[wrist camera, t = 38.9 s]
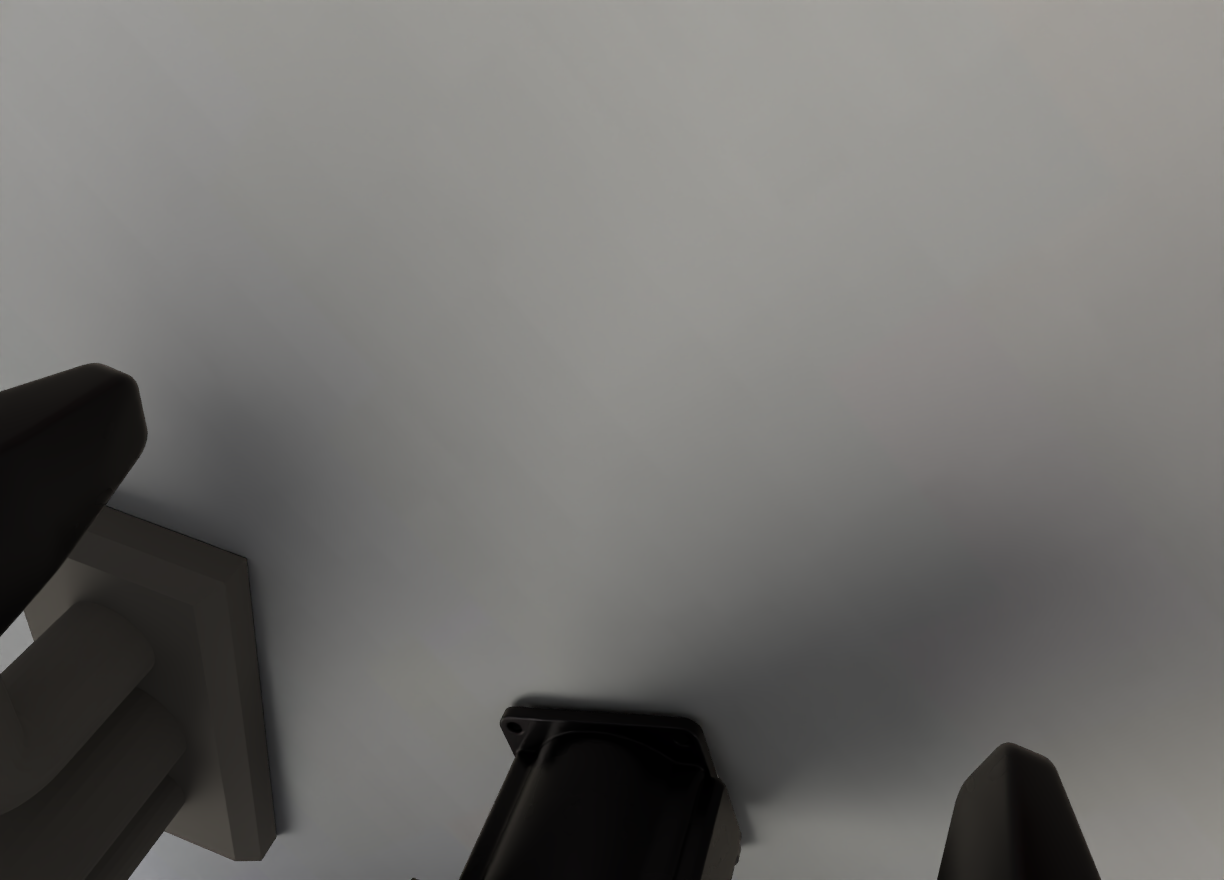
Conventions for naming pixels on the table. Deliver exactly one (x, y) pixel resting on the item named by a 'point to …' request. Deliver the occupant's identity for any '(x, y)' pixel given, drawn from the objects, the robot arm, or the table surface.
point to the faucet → (134, 710)
